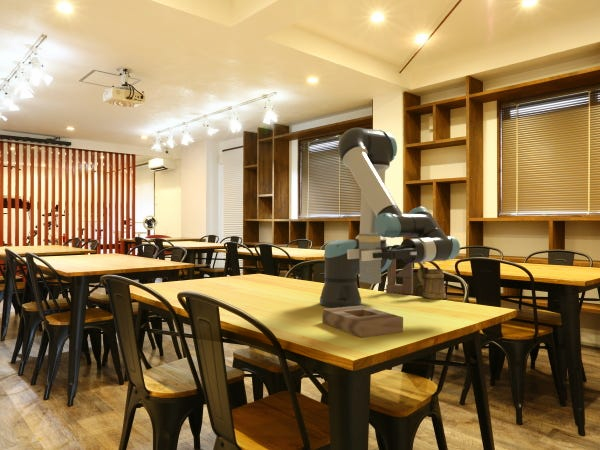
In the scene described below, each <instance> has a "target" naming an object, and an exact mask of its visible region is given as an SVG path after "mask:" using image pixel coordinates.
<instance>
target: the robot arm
mask: <svg viewBox="0 0 600 450" xmlns="http://www.w3.org/2000/svg"><path fill="white" fill-rule="evenodd" d="M337 151H338V156H339V160H340V161H341V163H342V164H343V166H344V167H346V168H348V169H349V171H350V172H351V174H352V176H353V178H354V180H355V182H356V183H357V185H358V187H359V188H360V190H361V194H360V195H361V196H360V215H359V216H360V219H359V233H358V235H356V236H355V239H340V240H333V241H330V242H327V243H326V244H325V246H324V255H323V257H324V285H323V287H322V290H321V294H320V297H319V304H320V305H321V306H323V307H328V308H340V307H350V306H361V305H362V297H361V294H360V290H359V287H358V283H357V275H360V262H359V234H360V233H376V234H380V236H381V242H380V247H381V250H370V251H361V261H370V260H381V273H383V272H385V271H386V270H387V268H388V267H389V265H390V263H391V260H393V259H396V260H402V261H403V262H405V263H406V264H408V263H409V264H411V263H413V264H418V263H419V262H421V263H422V264H423V265H426V264H427V262H429V263H430V262H440V261H441V262H442V261H444V262H445V261H449V260H454V259H456V258H457V257H458V256H459V254H460V251H461V244H460V243H459V240H458V239H457V238H456V237H454V236H453V235H446V234H445V232H444V230H443V229H441V227H440V225H439V224H438V222H437V221H436V219H435V218H434V217H433V215H432V213H430V211H429V209H427V208H426V207H425V206H418V207H415V208H412V209H411V210H409V212H408V213H403V212H402V211H401V210H400V208H399V206H398V205H397V203H396V201H395V199H394V198H393V196H392V195H391V193H390V192H389V189H388V188H387V186H386V181H385V180H386V171H387V170H388V169H389V168H390V164H391V162H393V160H394V159H395V157H396V156H397V154H398V153H397V152H398V143H397V141H396V138H395V137H394V135H392V133H390V132H389V131H383V130H380V129H379V130H378V129H372V128H371V129H370V128H364V127H363V128H362V127H353V128H350V129H348V130H346V131H344V133H343V134H342V135H341V136H340V139H339V141H338V144H337ZM387 238H390V239H394V238H404V239H403V241H402V242H401V244H394V245H389V244H388V243H387Z"/></svg>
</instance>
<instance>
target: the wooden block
mask: <svg viewBox="0 0 600 450" xmlns="http://www.w3.org/2000/svg"><path fill="white" fill-rule="evenodd" d="M396 261H397V259H393V260H391V263H390V265H389V267H388V268H387V269H386V270H387V272H386V273H387V274H386V278H387V281H386V283H387V284H385V292H386V293H387V294H395V295H396V294H398V295H409V296H410V295H413V294H414V263H411V264H409V263H406V265H405V266H404V267H403V268H402V269H400V271H399V272H397V262H396ZM397 278H402V284H399V283H397Z"/></svg>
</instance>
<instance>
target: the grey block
mask: <svg viewBox="0 0 600 450" xmlns="http://www.w3.org/2000/svg"><path fill="white" fill-rule="evenodd" d="M359 233H360V232H359ZM359 233H358V235H359V262H360V274H359V282H361V283H364V284H369V285H370V284H371V285H377V284H382V272H381V260H370V261H361V251H370V250H381V247H380V242H381V236H380V234H376V233H360V234H359Z"/></svg>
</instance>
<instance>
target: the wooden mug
mask: <svg viewBox="0 0 600 450" xmlns="http://www.w3.org/2000/svg"><path fill="white" fill-rule="evenodd" d="M417 264H418V265H419V269H418V270H417V273H416V276H417V279H418V281H419V283H420V284H421V286H422V289H423V290H422V291H423V292H422V297H423V298H424V299H429V300H444V299H447V294H446V289H445V288H446V287H445V281H444V278H445V274H444V271H443V269H442V268H441V269H440V268H431V269H429V267H425V265H424V264H423V262H419V263H417ZM423 274H424V277H425V279H423Z"/></svg>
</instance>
